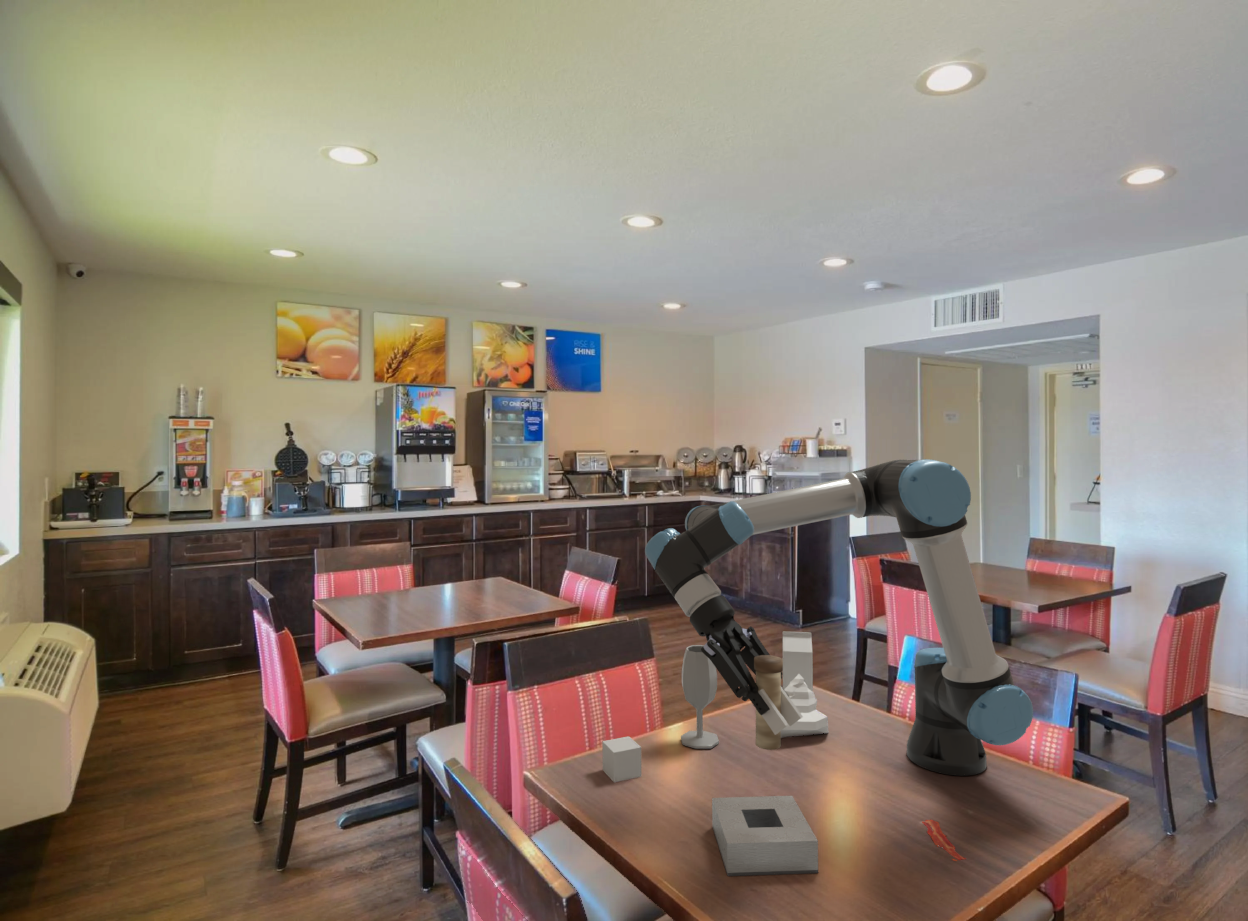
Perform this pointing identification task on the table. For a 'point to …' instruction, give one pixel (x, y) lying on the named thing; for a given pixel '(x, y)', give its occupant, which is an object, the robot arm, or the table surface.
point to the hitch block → (763, 836)
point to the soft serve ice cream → (804, 711)
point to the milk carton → (797, 657)
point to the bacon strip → (941, 838)
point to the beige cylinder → (771, 683)
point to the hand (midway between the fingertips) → (788, 725)
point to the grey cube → (621, 759)
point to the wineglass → (699, 694)
